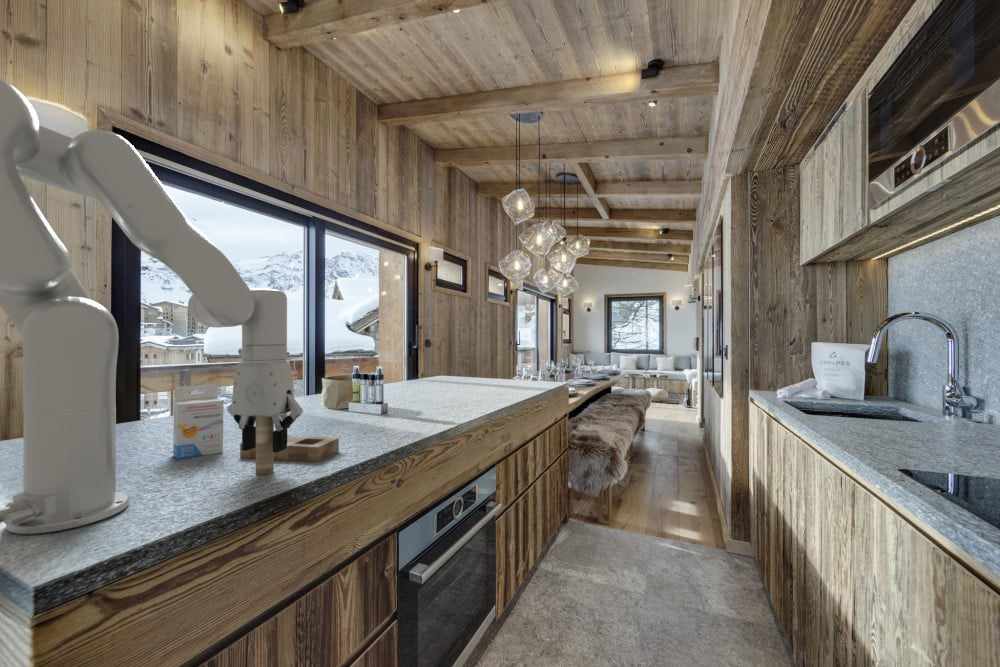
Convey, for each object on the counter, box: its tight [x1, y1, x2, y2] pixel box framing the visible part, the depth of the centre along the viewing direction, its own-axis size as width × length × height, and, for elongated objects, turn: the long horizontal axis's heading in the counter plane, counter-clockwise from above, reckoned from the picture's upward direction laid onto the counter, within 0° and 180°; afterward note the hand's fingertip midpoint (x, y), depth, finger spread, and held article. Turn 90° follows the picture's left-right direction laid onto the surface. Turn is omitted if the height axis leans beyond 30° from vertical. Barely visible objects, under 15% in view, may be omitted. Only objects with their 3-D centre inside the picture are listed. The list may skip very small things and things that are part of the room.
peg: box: [255, 416, 275, 476], centre depth 82 cm, size 3×3×12 cm
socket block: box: [239, 435, 340, 463], centre depth 95 cm, size 8×18×3 cm, turn 81°
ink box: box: [172, 383, 224, 460], centre depth 95 cm, size 8×5×15 cm, turn 134°
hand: (264, 448), depth 82 cm, fingers open, 5 cm apart
